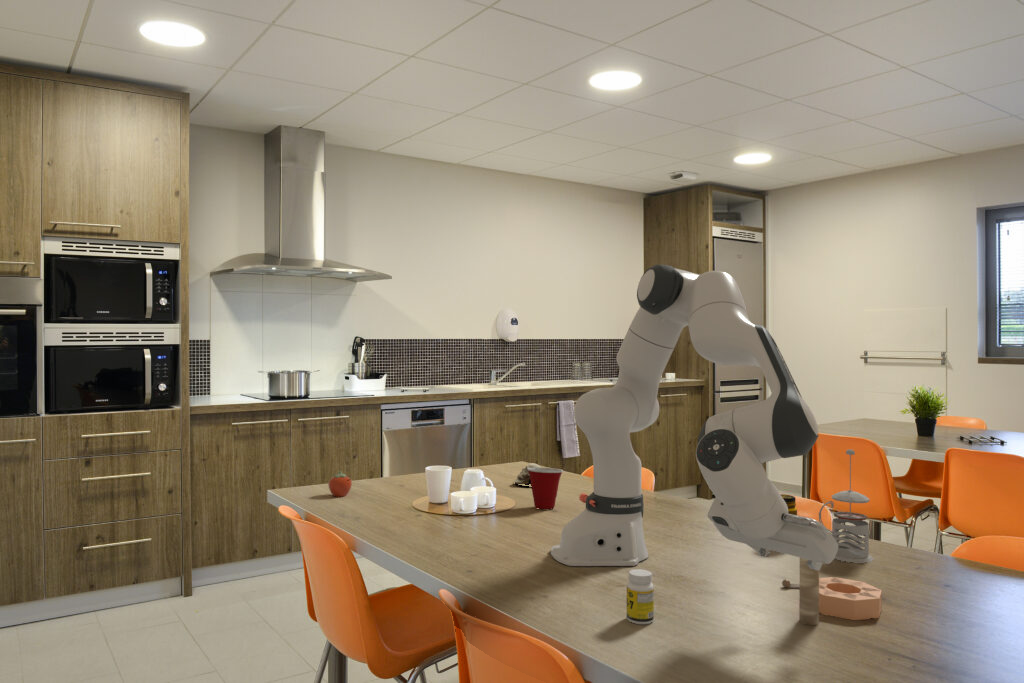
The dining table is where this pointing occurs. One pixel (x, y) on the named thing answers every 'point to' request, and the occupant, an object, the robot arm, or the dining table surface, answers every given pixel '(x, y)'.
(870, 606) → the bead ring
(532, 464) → the grey rounded lump
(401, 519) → the dining table surface
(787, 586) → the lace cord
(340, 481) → the tomato
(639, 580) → the supplement bottle
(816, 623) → the needle dowel
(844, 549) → the french press
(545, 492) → the plastic cup
